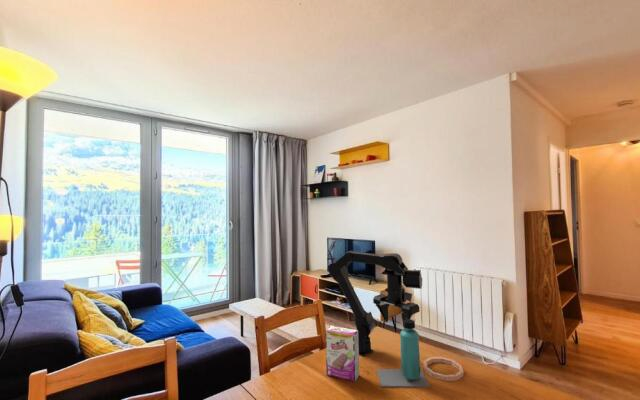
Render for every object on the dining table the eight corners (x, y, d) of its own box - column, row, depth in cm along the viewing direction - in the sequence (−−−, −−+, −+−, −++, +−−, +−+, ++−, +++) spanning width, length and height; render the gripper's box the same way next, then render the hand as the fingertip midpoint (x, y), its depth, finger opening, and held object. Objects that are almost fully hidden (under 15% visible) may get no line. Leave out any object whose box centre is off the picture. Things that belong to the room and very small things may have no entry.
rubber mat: (381, 387, 100) (381, 385, 100) (376, 370, 110) (376, 369, 110) (429, 387, 100) (429, 385, 100) (420, 370, 110) (420, 369, 110)
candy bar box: (325, 375, 108) (324, 330, 108) (331, 368, 113) (330, 324, 113) (355, 382, 103) (354, 334, 104) (360, 375, 108) (358, 329, 108)
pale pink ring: (416, 369, 110) (416, 365, 110) (437, 357, 119) (436, 353, 119) (449, 385, 100) (449, 381, 100) (469, 371, 108) (469, 367, 108)
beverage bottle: (422, 384, 100) (420, 324, 101) (401, 383, 101) (399, 323, 102) (419, 373, 107) (417, 317, 107) (400, 372, 108) (398, 316, 108)
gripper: (427, 286, 116) (428, 327, 116) (389, 278, 131) (390, 314, 131) (409, 292, 110) (411, 335, 109) (371, 282, 125) (372, 320, 124)
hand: (395, 325), depth 119 cm, fingers open, 9 cm apart
